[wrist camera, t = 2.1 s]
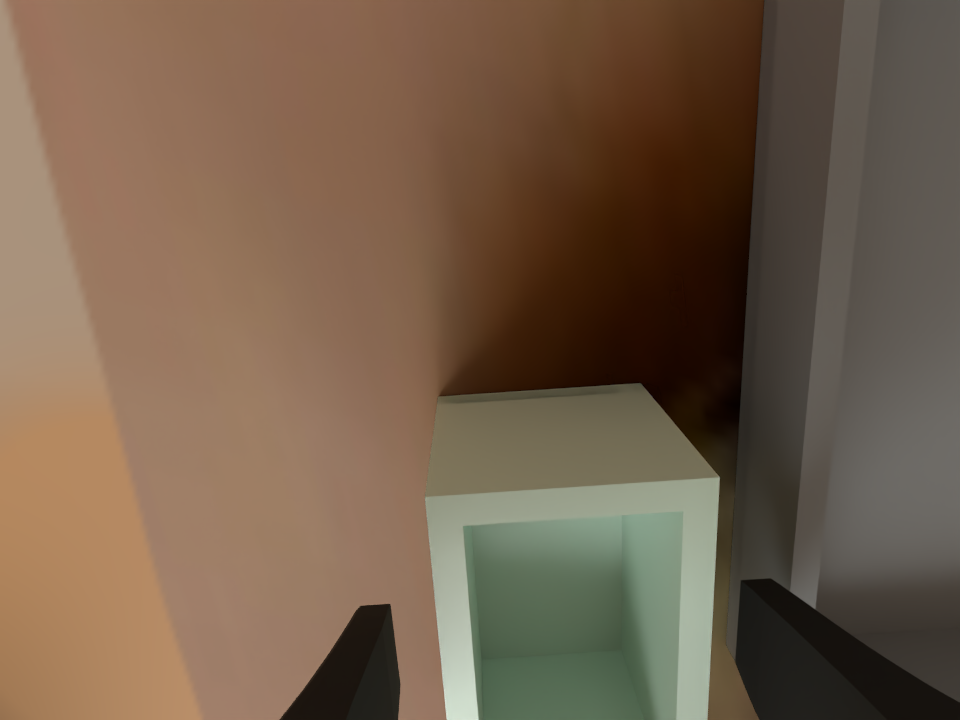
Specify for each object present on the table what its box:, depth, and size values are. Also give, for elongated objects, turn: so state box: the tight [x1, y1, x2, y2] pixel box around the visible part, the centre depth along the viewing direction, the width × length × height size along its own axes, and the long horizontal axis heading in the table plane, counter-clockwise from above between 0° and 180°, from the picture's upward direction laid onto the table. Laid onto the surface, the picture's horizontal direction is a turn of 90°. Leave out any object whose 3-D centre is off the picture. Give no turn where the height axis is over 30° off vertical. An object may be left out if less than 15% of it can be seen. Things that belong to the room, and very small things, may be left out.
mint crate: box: [425, 383, 720, 720], centre depth 14 cm, size 8×5×5 cm, turn 4°
